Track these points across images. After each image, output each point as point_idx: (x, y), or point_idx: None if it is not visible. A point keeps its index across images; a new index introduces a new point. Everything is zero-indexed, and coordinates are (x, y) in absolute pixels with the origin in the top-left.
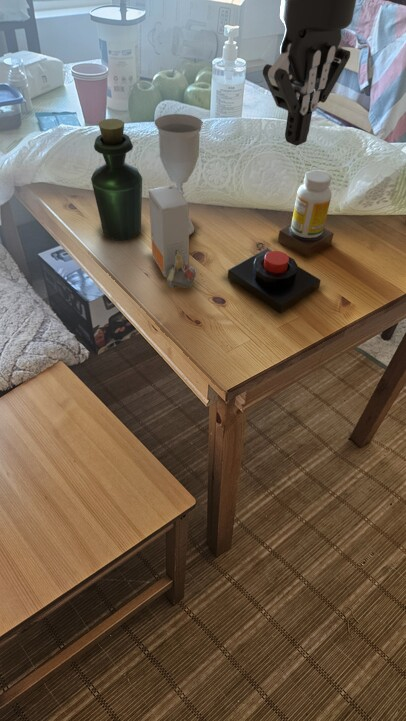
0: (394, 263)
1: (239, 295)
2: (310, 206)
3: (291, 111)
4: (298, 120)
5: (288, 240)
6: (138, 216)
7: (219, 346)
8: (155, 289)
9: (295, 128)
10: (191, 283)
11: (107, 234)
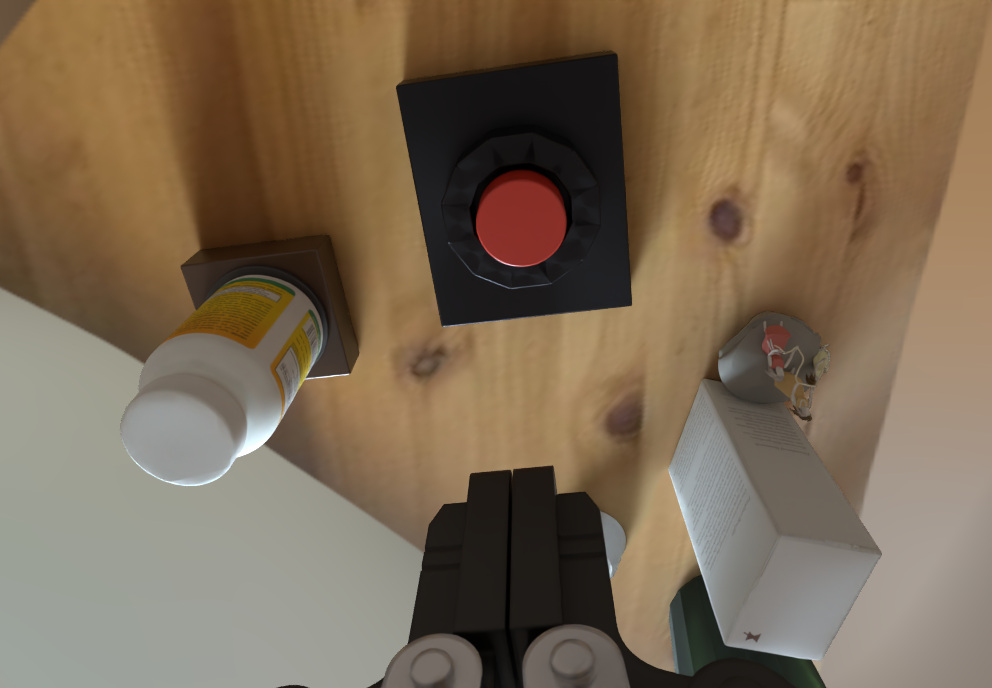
0: (40, 32)
1: (654, 205)
2: (267, 351)
3: (773, 682)
4: (584, 608)
5: (344, 326)
6: (712, 617)
7: (892, 34)
8: (837, 363)
9: (605, 561)
10: (771, 314)
11: None
